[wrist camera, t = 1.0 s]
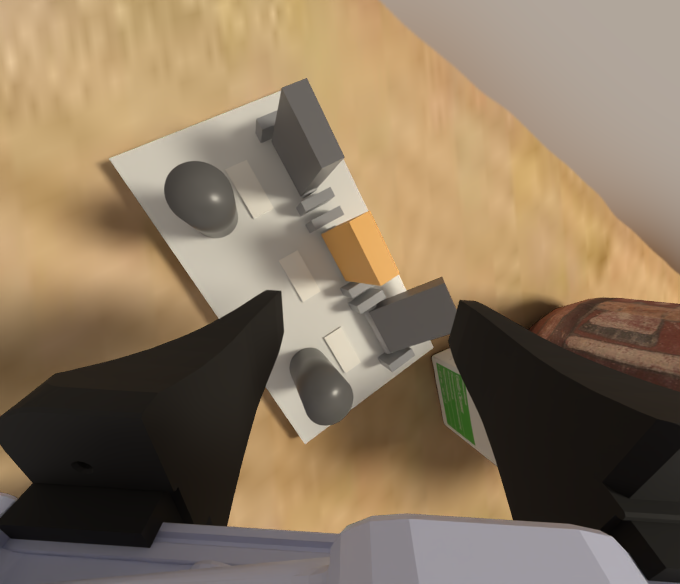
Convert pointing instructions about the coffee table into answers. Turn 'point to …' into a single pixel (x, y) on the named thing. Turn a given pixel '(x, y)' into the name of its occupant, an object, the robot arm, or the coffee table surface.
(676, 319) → the pottery
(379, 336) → the paddle
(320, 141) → the paddle
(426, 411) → the coffee table surface
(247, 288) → the breaker panel
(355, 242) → the block
